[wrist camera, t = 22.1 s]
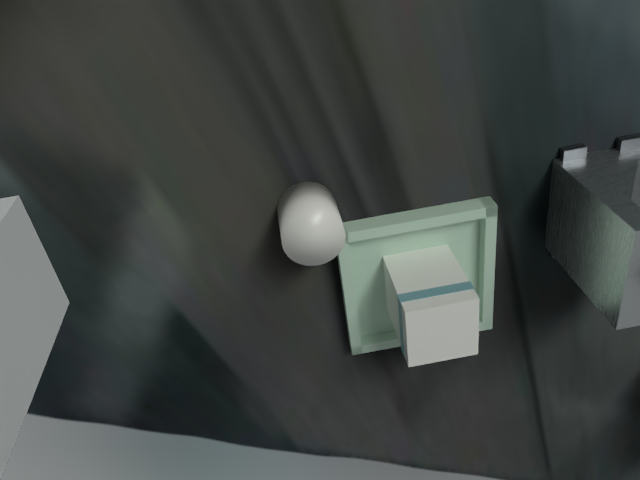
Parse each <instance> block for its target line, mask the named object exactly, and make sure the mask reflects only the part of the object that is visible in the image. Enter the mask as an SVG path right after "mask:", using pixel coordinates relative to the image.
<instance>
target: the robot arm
mask: <svg viewBox="0 0 640 480" xmlns="http://www.w3.org/2000/svg"><path fill="white" fill-rule="evenodd" d="M631 200H632V201H633V202H634V203H636V204H637V205H638V206H639V207H640V155H639V160H638V166H637V171H636V176H635V182H634V187H633V192H632V197H631ZM68 305H69V301H68V299H67V296H66V294H65V292H64V290H63V288H62V286H61V284H60V282H59V280H58V277H57V275H56V273H55V271H54V269H53V267H52V265H51V263H50V261H49V258H48V256H47V254H46V252H45V250H44V248H43V246H42V244H41V242H40V239H39V237H38V235H37V233H36V231H35V229H34V227H33V225H32V223H31V220H30V218H29V216H28V214H27V212H26V210H25V208H24V206H23V204H22V201H21V199H20V197H19V195H18V196H13V197H7V198H1V199H0V480H1V478H2V476H3V473H4V471H5V468H6V465H7V463H8V460H9V457H10V455H11V452H12V450H13V447H14V445H15V442H16V439H17V437H18V434H19V432H20V429H21V427H22V424H23V421H24V419H25V416H26V414H27V411H28V408H29V406H30V403H31V401H32V398H33V395H34V393H35V390H36V388H37V385H38V383H39V380H40V377H41V375H42V372H43V370H44V367H45V364H46V362H47V359H48V357H49V354H50V351H51V349H52V346H53V344H54V341H55V338H56V336H57V333H58V331H59V328H60V326H61V323H62V320H63V318H64V315H65V313H66V310H67V307H68Z"/></svg>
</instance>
